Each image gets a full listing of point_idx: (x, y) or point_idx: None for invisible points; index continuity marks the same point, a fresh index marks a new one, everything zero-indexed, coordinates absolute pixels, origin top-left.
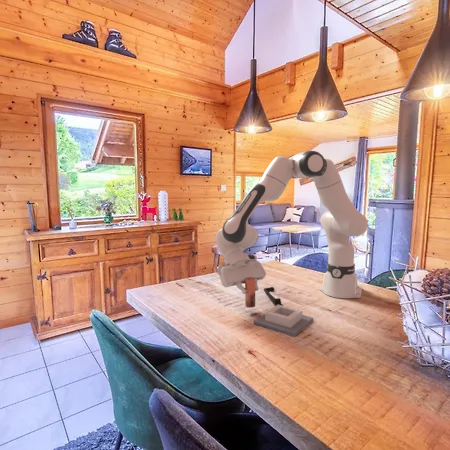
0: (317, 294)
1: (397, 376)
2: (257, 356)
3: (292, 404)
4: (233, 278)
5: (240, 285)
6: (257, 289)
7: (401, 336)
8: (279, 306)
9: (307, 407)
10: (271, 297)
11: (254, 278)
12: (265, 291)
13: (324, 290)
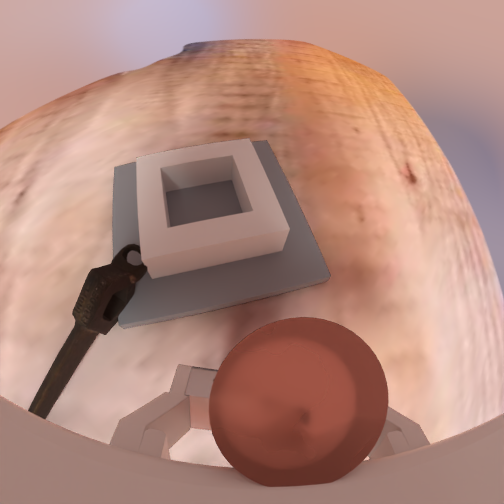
0: None
1: (236, 53)
2: (403, 160)
3: (396, 98)
4: (500, 449)
5: (404, 419)
6: (194, 369)
7: (101, 79)
8: (162, 236)
9: (382, 89)
10: (49, 394)
11: (236, 367)
12: None
13: None
